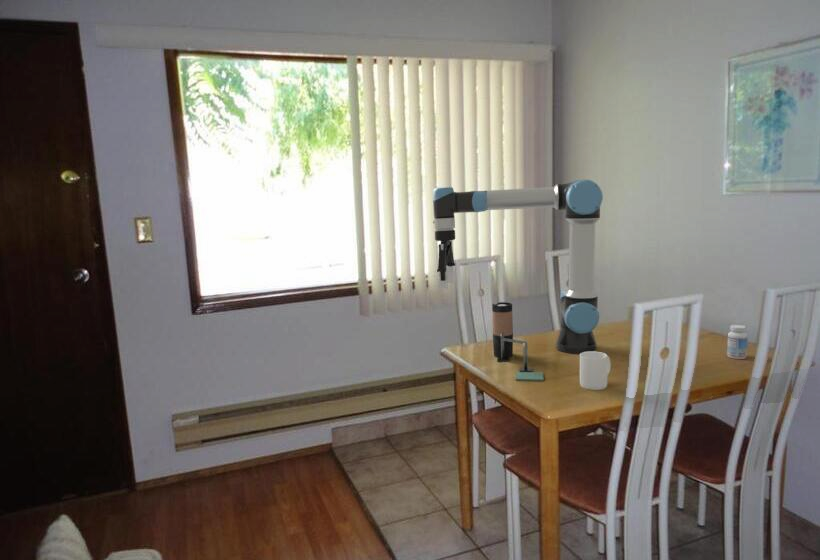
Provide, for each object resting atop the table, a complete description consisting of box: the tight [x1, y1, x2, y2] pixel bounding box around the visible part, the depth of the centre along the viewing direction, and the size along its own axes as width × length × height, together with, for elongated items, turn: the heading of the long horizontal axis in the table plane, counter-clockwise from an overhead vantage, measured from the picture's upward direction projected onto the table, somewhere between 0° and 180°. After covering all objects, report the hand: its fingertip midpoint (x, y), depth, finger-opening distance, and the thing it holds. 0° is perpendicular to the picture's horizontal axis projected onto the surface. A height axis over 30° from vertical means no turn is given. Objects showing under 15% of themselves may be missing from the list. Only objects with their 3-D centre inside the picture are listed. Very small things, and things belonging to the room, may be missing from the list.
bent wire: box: [496, 333, 533, 372], centre depth 199 cm, size 12×16×10 cm
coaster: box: [515, 371, 545, 382], centre depth 187 cm, size 9×7×1 cm
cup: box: [579, 350, 611, 391], centre depth 176 cm, size 8×12×10 cm
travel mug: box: [491, 301, 514, 359], centre depth 211 cm, size 8×8×20 cm
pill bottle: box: [726, 324, 749, 360], centre depth 197 cm, size 6×6×11 cm
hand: (447, 286), depth 209 cm, fingers open, 13 cm apart
